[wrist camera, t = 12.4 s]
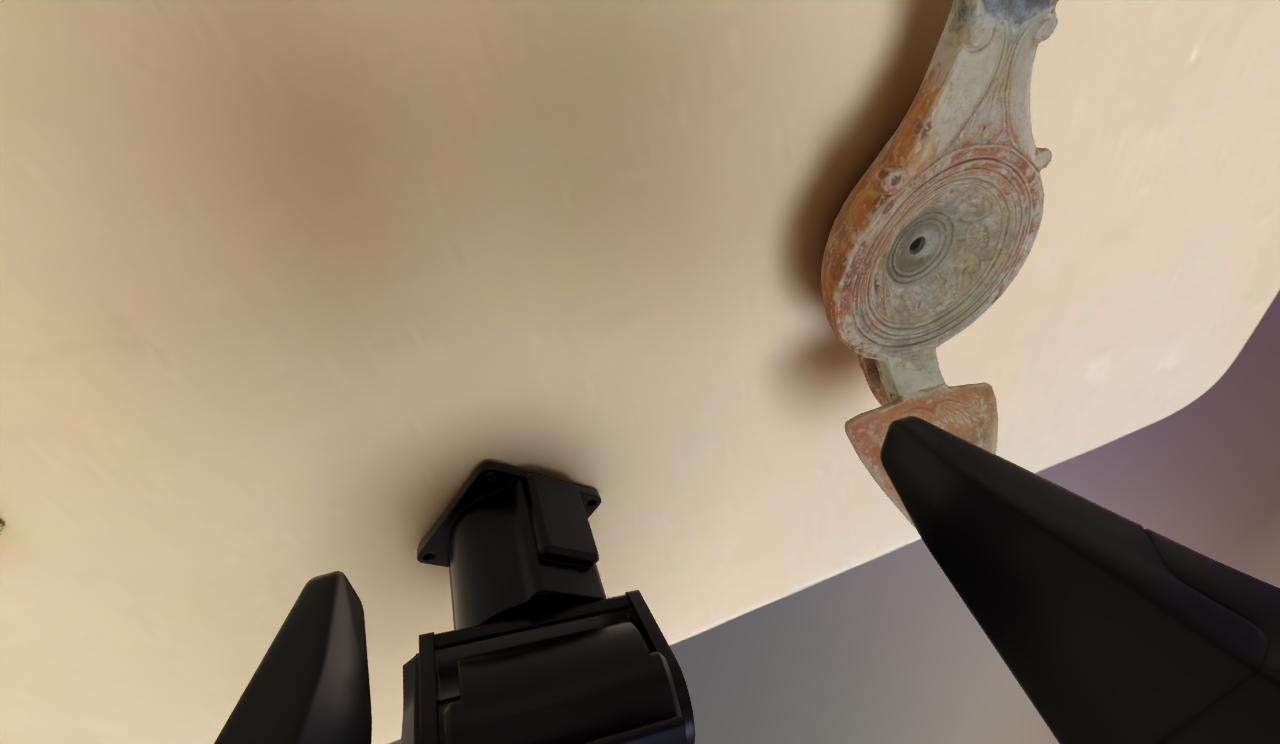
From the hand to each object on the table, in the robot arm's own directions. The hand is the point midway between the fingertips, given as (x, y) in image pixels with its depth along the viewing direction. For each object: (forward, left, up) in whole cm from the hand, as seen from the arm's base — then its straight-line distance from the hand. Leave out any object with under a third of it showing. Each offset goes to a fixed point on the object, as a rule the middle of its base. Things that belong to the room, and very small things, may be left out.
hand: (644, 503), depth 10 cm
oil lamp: (+7, -13, -13) cm, 20 cm away
